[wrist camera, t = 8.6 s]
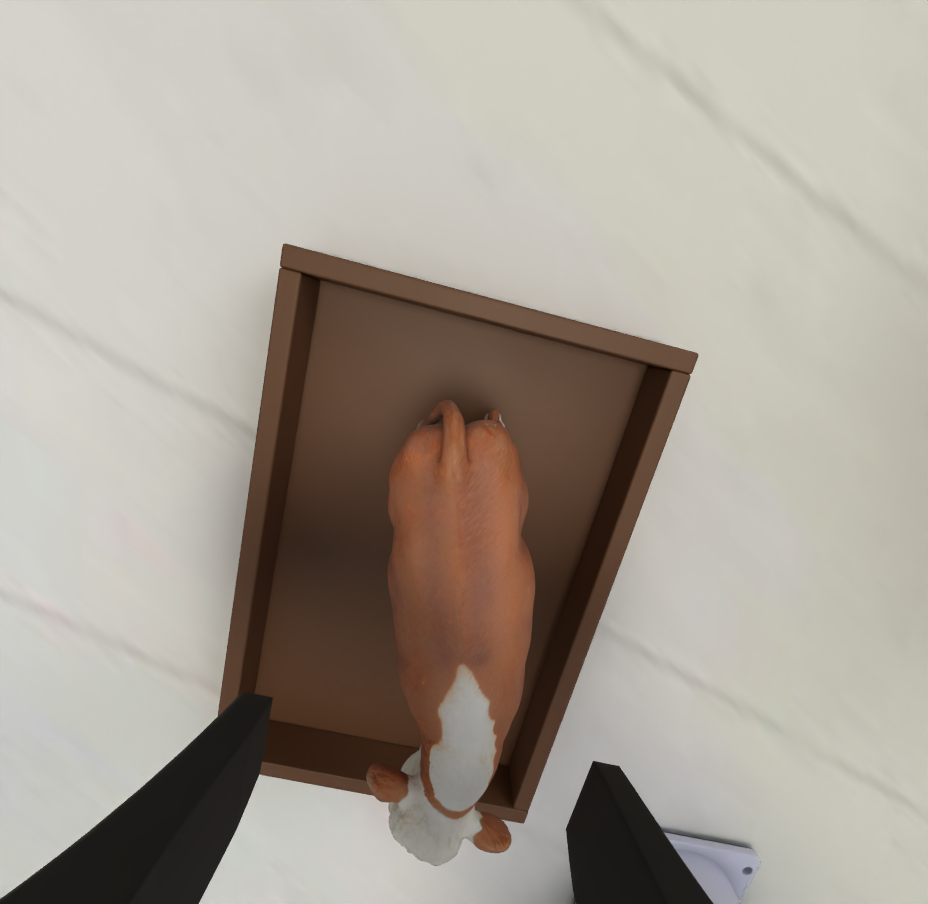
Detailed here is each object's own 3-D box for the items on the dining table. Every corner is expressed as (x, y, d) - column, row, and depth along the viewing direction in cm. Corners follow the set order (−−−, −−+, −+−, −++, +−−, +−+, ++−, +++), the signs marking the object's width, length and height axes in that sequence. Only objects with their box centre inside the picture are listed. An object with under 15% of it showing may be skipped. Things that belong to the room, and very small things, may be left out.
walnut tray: (517, 769, 22) (524, 824, 19) (239, 715, 21) (210, 765, 18) (666, 350, 17) (700, 353, 14) (309, 256, 16) (281, 242, 13)
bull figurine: (396, 682, 20) (353, 911, 12) (412, 375, 16) (368, 414, 9) (495, 688, 20) (516, 921, 12) (531, 385, 17) (594, 432, 9)
